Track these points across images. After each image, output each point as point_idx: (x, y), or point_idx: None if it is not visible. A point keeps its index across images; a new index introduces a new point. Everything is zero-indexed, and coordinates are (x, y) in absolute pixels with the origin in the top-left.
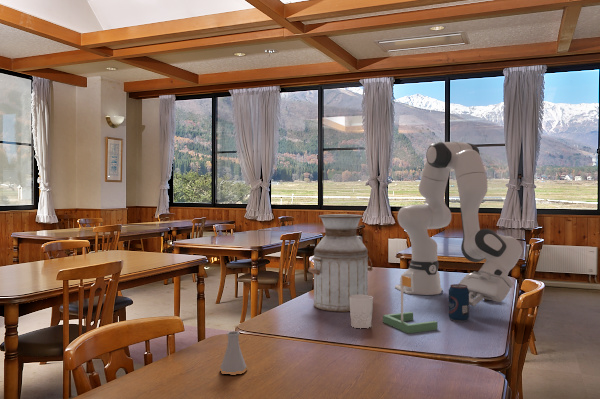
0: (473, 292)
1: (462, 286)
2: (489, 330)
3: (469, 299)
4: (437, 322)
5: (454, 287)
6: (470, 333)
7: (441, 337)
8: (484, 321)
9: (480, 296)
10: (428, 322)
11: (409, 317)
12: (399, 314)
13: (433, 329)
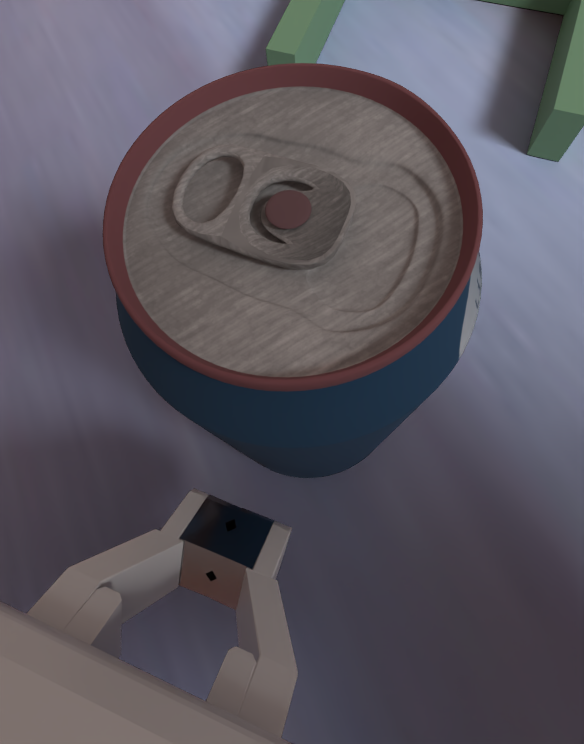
0: (208, 696)
1: (242, 292)
2: (13, 289)
3: (254, 550)
4: (266, 52)
5: (291, 76)
6: (87, 159)
7: (179, 14)
8: (121, 494)
9: (57, 596)
10: (299, 6)
11: (543, 112)
12: (577, 19)
13: None
